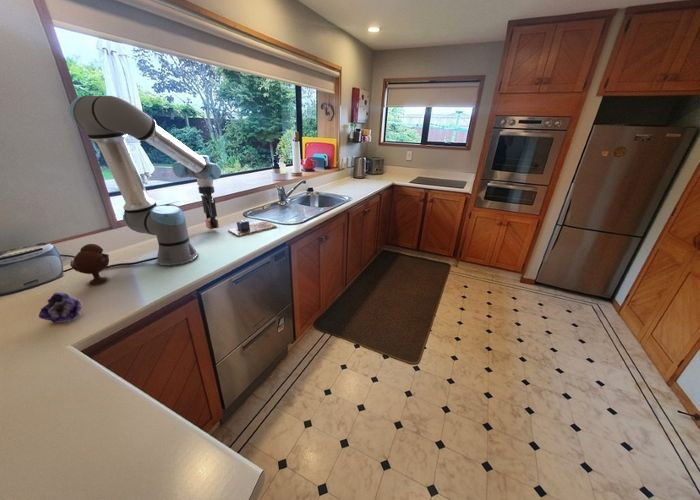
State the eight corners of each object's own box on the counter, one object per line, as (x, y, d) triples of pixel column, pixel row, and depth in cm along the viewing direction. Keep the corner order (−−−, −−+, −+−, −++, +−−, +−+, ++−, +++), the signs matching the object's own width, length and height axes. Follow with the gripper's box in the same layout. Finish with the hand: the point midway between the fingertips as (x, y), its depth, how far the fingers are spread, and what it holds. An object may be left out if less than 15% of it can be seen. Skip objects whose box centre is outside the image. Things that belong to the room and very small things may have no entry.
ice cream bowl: (86, 277, 109) (72, 241, 103) (121, 273, 113) (109, 238, 107) (73, 291, 100) (56, 253, 94) (111, 286, 104) (97, 249, 98)
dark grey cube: (241, 231, 157) (240, 222, 155) (237, 229, 160) (236, 220, 158) (249, 229, 160) (248, 221, 158) (245, 227, 164) (244, 218, 162)
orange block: (209, 229, 156) (208, 220, 154) (206, 227, 159) (204, 218, 157) (218, 227, 159) (217, 218, 157) (215, 225, 162) (214, 216, 160)
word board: (238, 236, 153) (237, 235, 152) (228, 231, 160) (228, 229, 160) (276, 227, 169) (276, 225, 168) (266, 222, 176) (266, 221, 176)
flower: (40, 294, 87) (43, 291, 80) (79, 294, 93) (84, 292, 87) (35, 325, 85) (37, 324, 78) (74, 323, 91) (80, 322, 85)
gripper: (219, 187, 147) (225, 229, 156) (206, 182, 158) (212, 221, 167) (204, 189, 142) (211, 232, 151) (192, 183, 153) (199, 224, 162)
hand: (212, 226), depth 159 cm, fingers closed on orange block, 5 cm apart
